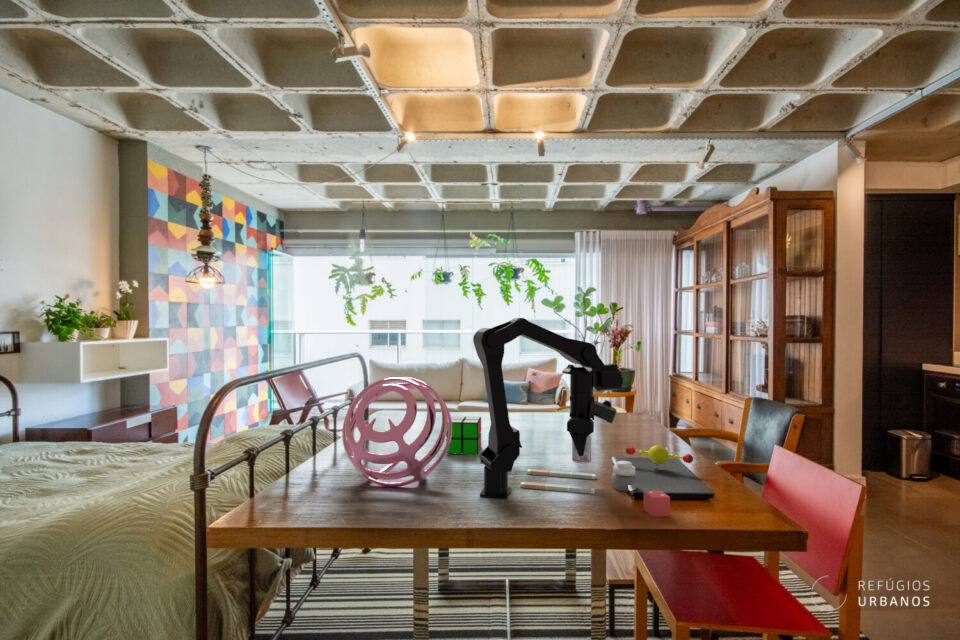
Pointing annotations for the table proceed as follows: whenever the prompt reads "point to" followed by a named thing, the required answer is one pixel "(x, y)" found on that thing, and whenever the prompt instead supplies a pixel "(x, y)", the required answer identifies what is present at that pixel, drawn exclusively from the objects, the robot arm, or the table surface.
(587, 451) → the pill bottle
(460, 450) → the puzzle cube
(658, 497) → the red die
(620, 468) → the dome
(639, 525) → the table surface
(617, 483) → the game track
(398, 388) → the pink openwork sphere
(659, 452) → the molecule model
